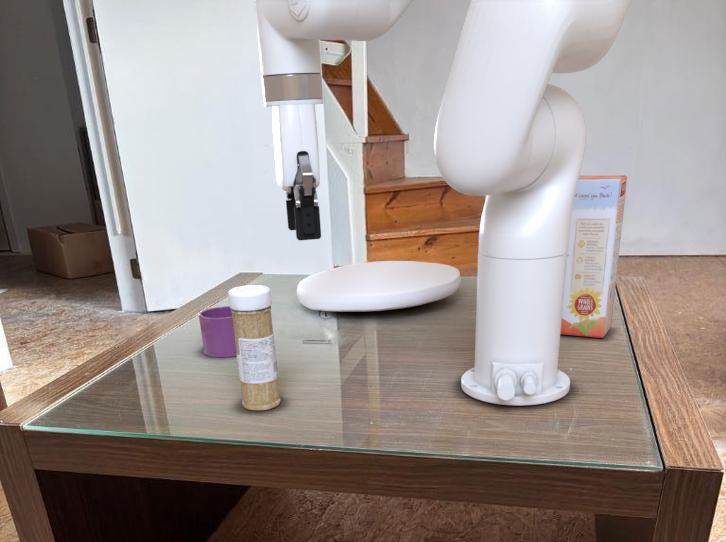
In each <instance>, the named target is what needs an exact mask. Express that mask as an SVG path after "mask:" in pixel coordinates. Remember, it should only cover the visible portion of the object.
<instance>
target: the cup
mask: <svg viewBox="0 0 726 542" xmlns="http://www.w3.org/2000/svg"><path fill="white" fill-rule="evenodd" d="M198 320H199V327H200V333H201V341H202V346H203V353H204V354H205V356H208V357H212V358H232V357H237V351H236V342H235V334H234V325H233V317H232V312H231V308H230V306H229V305H226V306H216V307H211V308H207V309H204V310H201V311H200V312H199V313H198Z"/></svg>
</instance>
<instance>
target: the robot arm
mask: <svg viewBox="0 0 726 542" xmlns="http://www.w3.org/2000/svg"><path fill="white" fill-rule="evenodd" d="M413 2H414V0H253V3H254V11H255V22H256V23H255V24H256V31H257V44H258V54H259V63H260V75H261V85H262V86H261V87H262V95H263V103H264V104H263V105H264V108H265V107H272V133H273V134H272V135H273V148H274V161H275V162H274V163H275V177H276V178H275V179H276V185H277V186H278V187H279V188H280V189H282V191H285V192H286V193H285V195H286V200H285V205H286V219H287V228H288V230H290V231H295V237H296V239H297V240H298V241H311V240H320V239H321V238H322V229H321V216H320V215H321V213H320V212H321V211H320V206H319V199H318V194H317V189H318V187H320V184H321V183H320V181H321V175H320V173H321V171H320V153H319V152H320V151H319V139H318V128H317V125H318V123H317V114H316V113H317V112H316V105H324V90H323V74H322V73H323V72H322V58H321V57H322V56H321V44H320V43H321V42H320V41H351V42H352V41H353V42H369V41H373V40H375V39H379V38H380V37H382V36H383V35H385V33H387V32H388V31H390V29H391V28H393V26H394V25H395V24H396V23H397V22H398V21H399V19H400V18H401V17H402V15H403V14H404V13H405V12H406V11H407V10H408V8H409V7H410V6H411V4H412V3H413ZM631 2H632V0H470V3H469V6H468V8H467V12H466V15H465V18H464V22H463V25H462V29H461V31H460V36H459V39H458V43H457V46H456V50H455V54H454V57H453V60H452V63H451V67H450V71H449V74H448V77H447V80H446V83H445V84H446V85H445V87H444V92H443V95H442V99H441V103H440V106H439V110H438V114H437V118H436V123H435V129H434V136H433V151H434V158H435V164H436V166H437V169H438V171H439V174H440V175H441V178H442V179H443V180H444V181H445V183H446V184H447V185H448V186H449V187H450V188H451V189H453V190H454V191H456V192H457V193H459V194H463V195H466V196H473V197H485V196H486V197H485V201H484V205H483V209H482V213H481V218H480V224H479V230H478V248H477V275H476V276H477V278H476V279H477V280H476V304H475V305H476V307H475V309H476V310H475V311H476V312H475V342H474V367H472V368H469V369H467V370H466V371H465V372H464V373H463V374H462V376H461V377H460V388H461V390H462V391H463V392H464V393H465V394H466V395H468V396H469V397H471V398H473V399H475V400H478V401H480V402H484V403H489V404H493V405H501V406H513V407H517V406H518V407H520V406H521V407H522V406H523V407H524V406H537V405H543V404H548V403H552V402H555V401H558V400H560V399H562V398H563V397H565V396H567V394H568V393H569V392H570V389H571V378H570V377H569V376H568V375H567V374H566V373H565V372H563V371H561V370H560V369H559V368H558V367H559V357H560V356H559V355H560V354H559V353H560V344H561V343H560V342H561V334H560V333H561V321H562V310H563V298H564V286H565V275H566V263H567V252H568V246H569V235H570V225H571V216H572V208H573V202H574V196H575V191H576V187H577V183H578V178H579V176H580V174H581V170H582V165H583V160H584V157H585V156H584V155H585V152H586V151H585V150H586V142H587V129H586V122H585V117H584V114H583V112H582V109H581V107H580V105H579V103H578V101H576V99H575V98H574V96H572V95H571V94H570V92H568V91H567V90H565V89H563V88H561V87H559V86H556V85H554V84H550V83H549V82H550V79H551V77H552V74H573V73H578V72H582V71H585V70H588V69H590V68H592V67H594V66H595V65H596V64H599V63H600V62H601V61H602V60H603V58H604V57H605V56H606V55H607V54H608V53H609V51H610V50H611V49H612V46H613V44H614V42H615V41H616V38H617V36H618V34H619V32H620V30H621V27H622V26H623V25H622V24H623V22H624V20H625V17H626V15H627V12H628V9H629V7H630V5H631Z"/></svg>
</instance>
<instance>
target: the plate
mask: <svg viewBox="0 0 726 542" xmlns="http://www.w3.org/2000/svg"><path fill="white" fill-rule="evenodd" d="M461 281H462V279H461V272H460V270H459V269H458V268H456V267H455V266H452V265H450V264H444V263H439V262H428V261H427V262H426V261H415V260H380V261H379V260H377V261H369V262H359V263H352V264H346V265H342V266H338V267H333V268H329V269H326V270H321V271H319V272H316V273H313V274H311V275H308V276H306V277H305V278H304V279H302V280H300V282H299V283H298V285H297V286H296V287H297V288H296V295H297V299H298V302H299V303H300V304H301V305H302V306H304V307H306V308H307V309H309V310H313V311H323V312H341V313H343V312H344V313H345V312H349V313H351V312H353V313H355V312H357V313H359V312H381V311H390V310H399V309H407V308H412V307H418V306H422V305H425V304H429V303H433V302H436V301H440V300H444V299H446V298H447V297H450V296H451V295H453V294H454V293H455V292H456V291H458V289H459V287H460V284H461Z"/></svg>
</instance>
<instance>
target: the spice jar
mask: <svg viewBox="0 0 726 542" xmlns="http://www.w3.org/2000/svg"><path fill="white" fill-rule="evenodd" d="M271 294H272V293H271V289H270V287H268V286H267V285H264V284H263V285H262V284H247V285H245V284H244V285H240V286H235V287H232V288H231V289H229V290H228V291H227V297H228V306H230V308H231V312H232V317H233V325H234V334H235V342H236V351H237V356H236V363H237V371H238V378H239V379H238V380H239V381H240V391H241V399H242V400H241V405H242V407H243V408H245V409H246V410H249V411H260V412H261V411H268V410H272V409H274V408H276V407H278V406H279V405H280V404H281V400H282V399H281V396H280V390H279V382H278V381H279V380H278V376H279V373H278V363H277V353H276V344H275V343H276V342H275V333H274V329H273V320H272V319H273V318H272V311H271V310H272V304H273V303H272V301H273V300H272V295H271Z"/></svg>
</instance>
